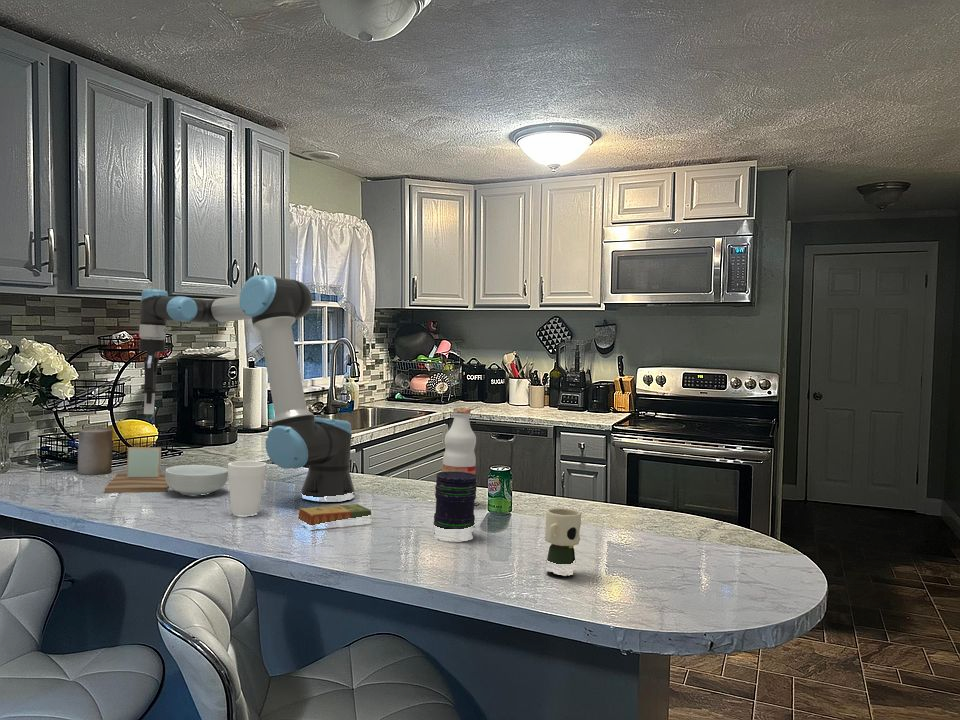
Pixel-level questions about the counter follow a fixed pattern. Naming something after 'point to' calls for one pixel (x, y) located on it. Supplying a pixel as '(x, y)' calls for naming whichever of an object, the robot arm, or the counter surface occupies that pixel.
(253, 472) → the foam cup
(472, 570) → the counter surface
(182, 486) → the cereal bowl
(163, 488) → the board
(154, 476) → the tile
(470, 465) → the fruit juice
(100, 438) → the pillar candle
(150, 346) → the robot arm
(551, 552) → the character mug
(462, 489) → the storage jar
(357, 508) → the brown and green block
